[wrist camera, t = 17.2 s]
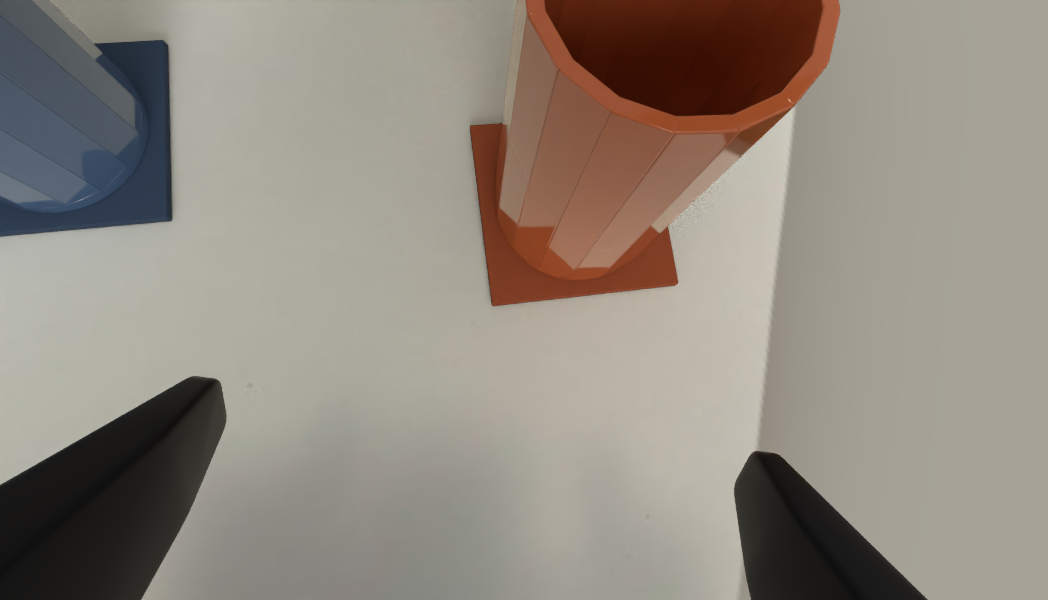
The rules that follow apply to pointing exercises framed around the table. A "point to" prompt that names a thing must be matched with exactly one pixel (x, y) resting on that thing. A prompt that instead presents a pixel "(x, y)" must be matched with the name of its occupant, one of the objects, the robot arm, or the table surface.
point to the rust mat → (528, 284)
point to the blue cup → (62, 113)
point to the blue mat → (151, 180)
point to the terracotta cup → (639, 115)
